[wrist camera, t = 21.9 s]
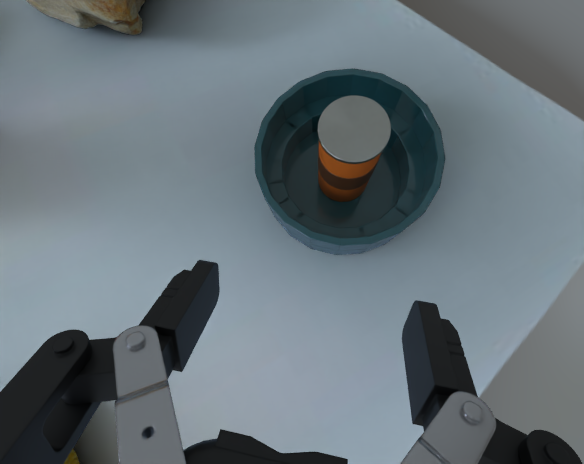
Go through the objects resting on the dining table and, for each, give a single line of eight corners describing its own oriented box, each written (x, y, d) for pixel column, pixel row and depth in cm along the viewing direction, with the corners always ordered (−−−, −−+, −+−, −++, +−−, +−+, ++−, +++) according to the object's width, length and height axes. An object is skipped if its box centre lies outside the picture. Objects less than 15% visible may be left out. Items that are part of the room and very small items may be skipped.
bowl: (236, 172, 34) (218, 144, 28) (348, 83, 35) (356, 36, 29) (333, 287, 31) (337, 285, 25) (452, 187, 32) (485, 161, 26)
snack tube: (306, 175, 33) (302, 125, 23) (345, 145, 33) (357, 82, 23) (339, 213, 32) (350, 176, 22) (379, 181, 32) (406, 130, 22)
